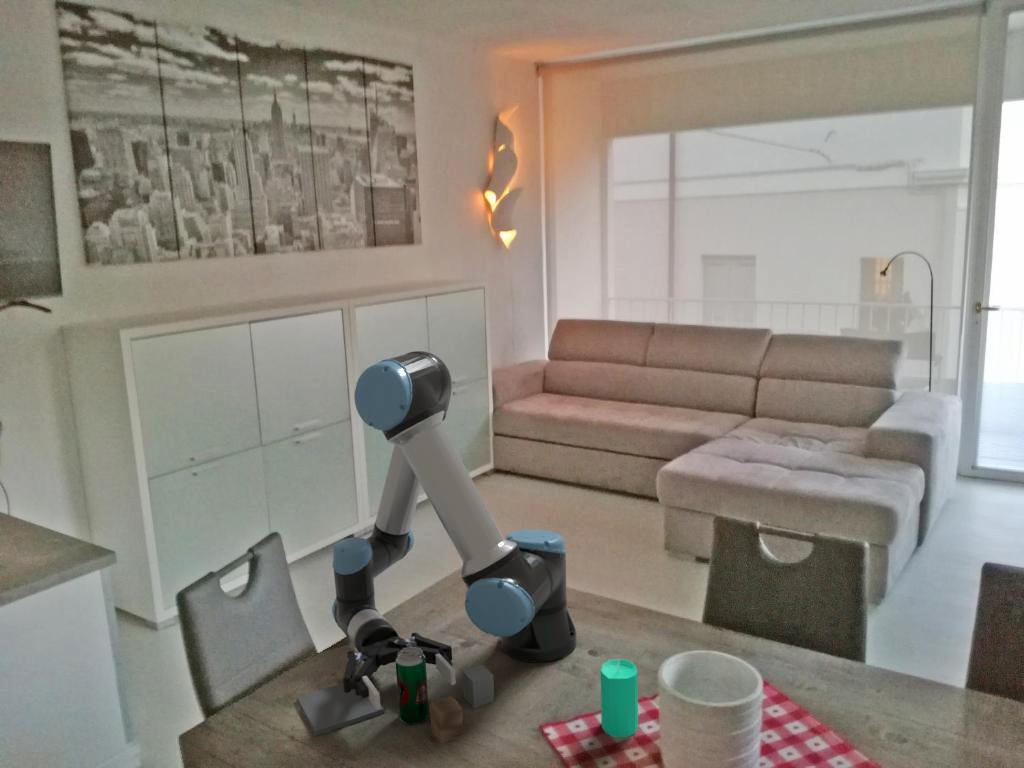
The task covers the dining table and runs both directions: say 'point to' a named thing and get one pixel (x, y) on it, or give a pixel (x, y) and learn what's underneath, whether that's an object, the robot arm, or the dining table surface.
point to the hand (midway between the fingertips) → (416, 689)
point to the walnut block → (446, 719)
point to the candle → (619, 698)
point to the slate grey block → (478, 686)
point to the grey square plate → (335, 708)
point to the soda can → (412, 685)
